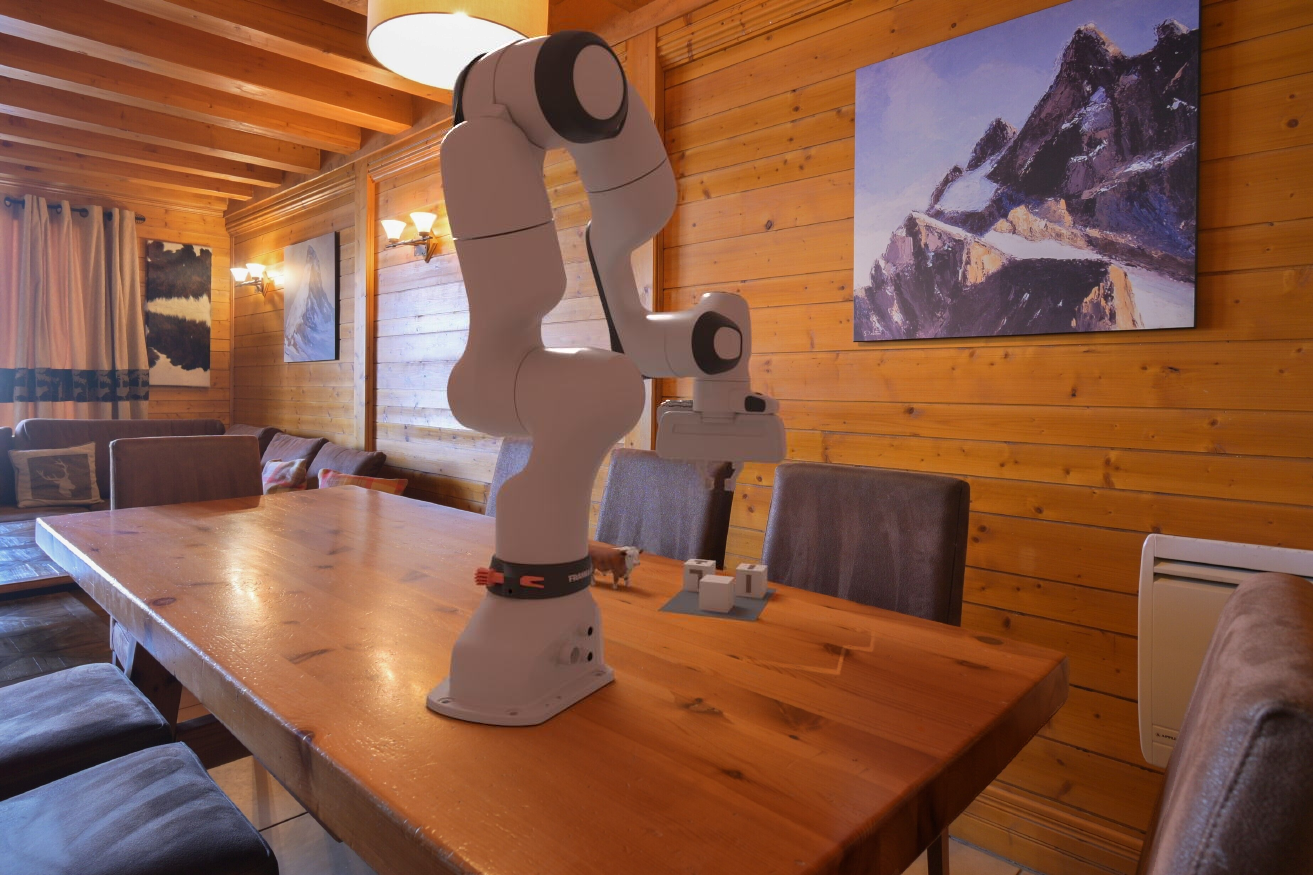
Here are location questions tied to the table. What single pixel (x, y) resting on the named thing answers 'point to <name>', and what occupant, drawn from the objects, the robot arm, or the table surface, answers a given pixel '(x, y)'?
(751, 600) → the mat
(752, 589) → the digit block 1
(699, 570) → the digit block 7
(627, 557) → the bull figurine
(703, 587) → the plain block
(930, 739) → the table surface
